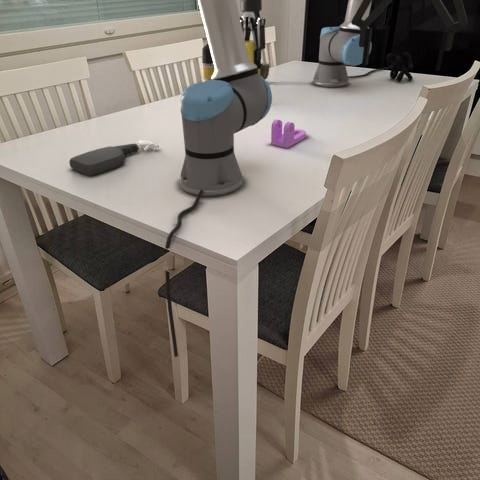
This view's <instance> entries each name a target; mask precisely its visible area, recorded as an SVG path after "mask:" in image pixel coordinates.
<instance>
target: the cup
mask: <svg viewBox="0 0 480 480" xmlns="http://www.w3.org/2000/svg"><path fill="white" fill-rule="evenodd" d="M270 66H271V65H270V63H265V64H264V63H263V62H261V69H260V75H259V76H261V77H263V79H264V80H265V81H266V80H267V79H268V77H269V74H270Z"/></svg>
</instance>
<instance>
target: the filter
mask: <svg viewBox="0 0 480 480" xmlns="http://www.w3.org/2000/svg"><path fill="white" fill-rule="evenodd" d="M206 42H207V43H206V45H204V46H202V49H201V50H202V51H201V52H202V54H201V55H202V57H201V58H202V61H201V63H202V71H203V72H202V73H203V74H202V75H203V80H204V81H209V80H211V77H212V75H213V73H214V71H215V67H214V63H213V59H212V55H211V51H210V47H209V43H208V40H206Z"/></svg>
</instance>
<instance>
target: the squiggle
mask: <svg viewBox="0 0 480 480" xmlns="http://www.w3.org/2000/svg"><path fill="white" fill-rule="evenodd" d="M401 57H402V59H401ZM391 59H392V60H391ZM393 60H394V61H393ZM385 61H386V64H387V67H390V66H391V68H390V69H391V70H390V72H389V78H390V79H391V80H395V79H396V81H397V82H399V83H400V82H402V81H403V79H404V76H406V78H407V80H408V81H412V80H413V79H414V77H413V75H412V74H411V73H410V72H409V71H410V70H412V69H413V68H414V64H413V61H412V57H411V54H410V53H409V52H408V51H403V53H402V54H401V55H396V54H394V53H392V52H390V53H387V55H386V57H385ZM406 62H407V65H408V66H407V67H405V66H404V65H405V64H406ZM400 70H401V71H400Z"/></svg>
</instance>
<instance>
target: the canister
mask: <svg viewBox="0 0 480 480" xmlns="http://www.w3.org/2000/svg"><path fill="white" fill-rule="evenodd" d="M245 43H246V48H247V52H248V57H249V60H250V61H251V62H252V63H253V64H254V49H255V46H254V40H253V39H250V40H248V41H245ZM258 73H259V75H260V69H258Z"/></svg>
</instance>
